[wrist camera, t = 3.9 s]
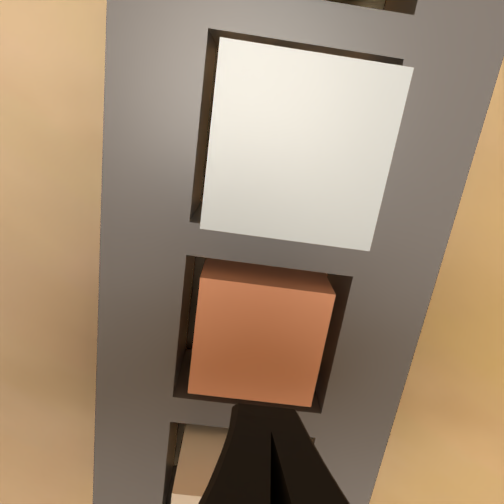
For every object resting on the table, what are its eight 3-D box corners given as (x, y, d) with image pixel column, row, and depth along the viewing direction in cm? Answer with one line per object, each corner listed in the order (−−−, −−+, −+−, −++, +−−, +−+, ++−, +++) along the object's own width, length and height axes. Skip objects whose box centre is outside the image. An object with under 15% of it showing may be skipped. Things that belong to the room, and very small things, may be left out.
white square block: (210, 202, 12) (199, 228, 10) (227, 56, 11) (219, 36, 8) (342, 220, 13) (369, 251, 10) (372, 79, 11) (414, 67, 9)
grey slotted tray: (115, 486, 19) (91, 553, 16) (153, -287, 11) (119, -433, 8) (332, 508, 19) (346, 576, 16) (524, -214, 11) (618, -326, 8)
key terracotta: (198, 343, 16) (187, 393, 13) (209, 246, 15) (200, 277, 12) (299, 355, 16) (311, 407, 13) (319, 260, 15) (335, 294, 12)
